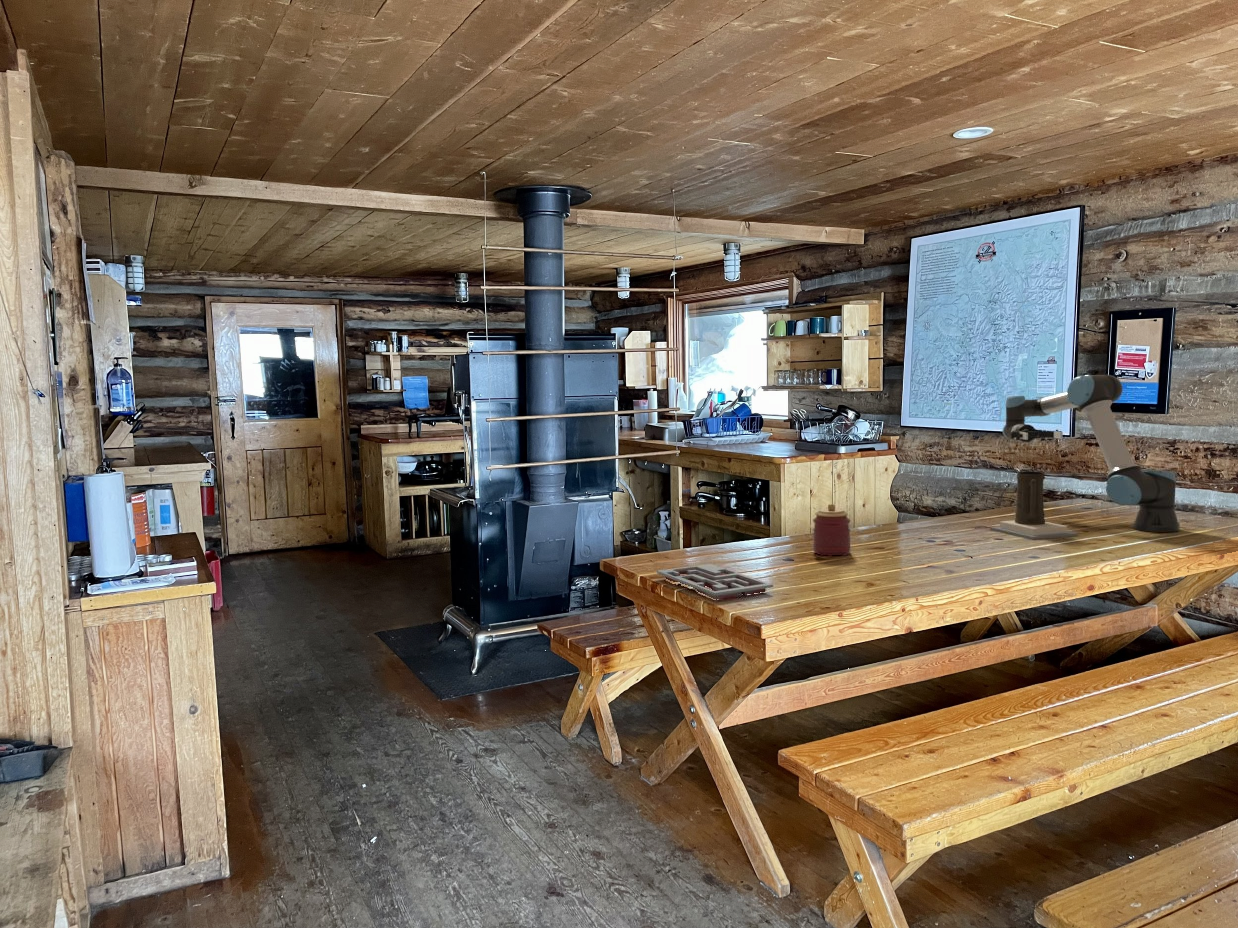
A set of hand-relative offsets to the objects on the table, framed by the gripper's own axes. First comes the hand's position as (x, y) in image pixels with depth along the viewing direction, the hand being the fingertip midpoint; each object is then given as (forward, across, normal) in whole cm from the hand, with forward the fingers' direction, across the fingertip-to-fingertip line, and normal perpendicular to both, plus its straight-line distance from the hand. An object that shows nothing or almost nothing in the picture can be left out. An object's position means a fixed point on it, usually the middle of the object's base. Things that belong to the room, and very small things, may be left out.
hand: (1044, 435), depth 357 cm
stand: (+19, +12, -36) cm, 43 cm away
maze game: (+102, +138, -37) cm, 176 cm away
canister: (+54, +94, -36) cm, 114 cm away
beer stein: (+19, +12, -33) cm, 40 cm away
